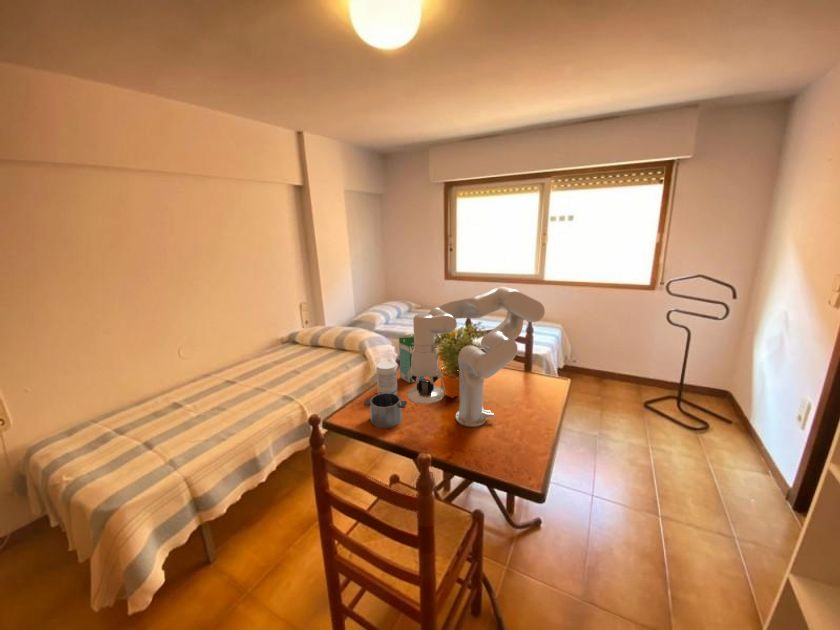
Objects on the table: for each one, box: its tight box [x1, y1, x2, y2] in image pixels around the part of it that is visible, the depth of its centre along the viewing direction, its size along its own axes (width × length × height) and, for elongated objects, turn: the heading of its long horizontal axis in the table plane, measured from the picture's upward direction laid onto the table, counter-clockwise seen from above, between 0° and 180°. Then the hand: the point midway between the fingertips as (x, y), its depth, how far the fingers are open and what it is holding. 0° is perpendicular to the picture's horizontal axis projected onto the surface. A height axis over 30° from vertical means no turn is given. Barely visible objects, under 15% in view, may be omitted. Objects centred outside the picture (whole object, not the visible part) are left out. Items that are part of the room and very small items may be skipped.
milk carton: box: [398, 332, 425, 384], centre depth 177 cm, size 9×9×25 cm
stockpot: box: [363, 393, 408, 429], centre depth 140 cm, size 17×13×9 cm
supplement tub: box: [376, 361, 398, 395], centre depth 162 cm, size 10×10×15 cm
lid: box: [406, 378, 445, 405], centre depth 130 cm, size 14×14×7 cm
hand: (425, 391), depth 130 cm, fingers closed on lid, 3 cm apart
